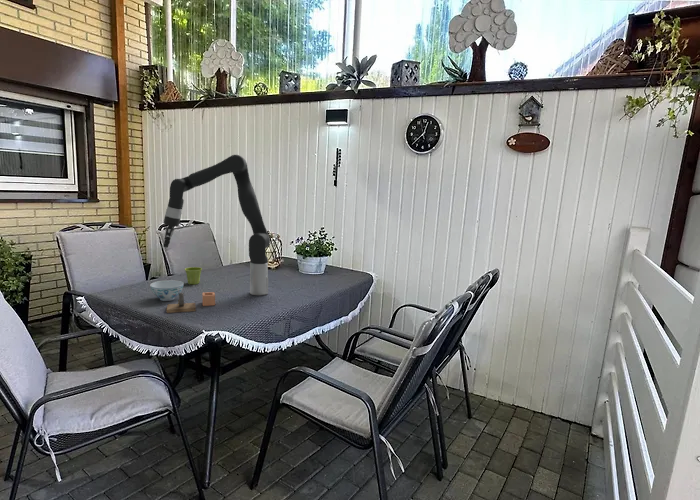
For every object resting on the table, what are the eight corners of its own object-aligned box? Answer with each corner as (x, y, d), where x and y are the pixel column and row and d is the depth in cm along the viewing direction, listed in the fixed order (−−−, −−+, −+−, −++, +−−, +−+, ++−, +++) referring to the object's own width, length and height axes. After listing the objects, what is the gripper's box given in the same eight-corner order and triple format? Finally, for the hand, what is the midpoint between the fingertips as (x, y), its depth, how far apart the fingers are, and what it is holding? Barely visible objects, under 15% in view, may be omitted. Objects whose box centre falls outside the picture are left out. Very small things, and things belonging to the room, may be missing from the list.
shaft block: (195, 305, 183) (195, 290, 182) (195, 311, 176) (195, 295, 175) (167, 307, 179) (167, 291, 178) (166, 312, 172) (166, 296, 170)
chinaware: (174, 293, 202) (174, 278, 201) (189, 299, 192) (189, 284, 191) (145, 298, 190) (144, 283, 189) (159, 305, 181) (158, 289, 180)
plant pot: (190, 286, 216) (190, 271, 214) (181, 283, 221) (181, 268, 220) (205, 283, 223) (205, 269, 222) (196, 280, 229) (196, 266, 227)
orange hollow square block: (214, 301, 191) (214, 292, 190) (215, 305, 186) (215, 295, 185) (202, 302, 189) (202, 292, 188) (202, 305, 184) (202, 295, 183)
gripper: (179, 219, 197) (172, 250, 199) (181, 215, 210) (175, 244, 212) (163, 216, 194) (157, 246, 196) (166, 212, 207) (160, 241, 209)
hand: (166, 245), depth 204 cm, fingers open, 8 cm apart
